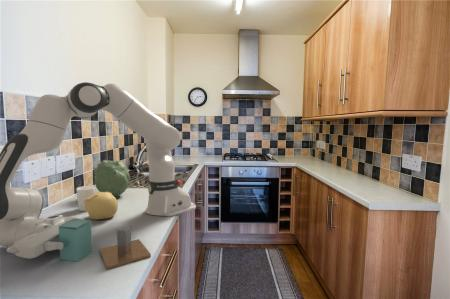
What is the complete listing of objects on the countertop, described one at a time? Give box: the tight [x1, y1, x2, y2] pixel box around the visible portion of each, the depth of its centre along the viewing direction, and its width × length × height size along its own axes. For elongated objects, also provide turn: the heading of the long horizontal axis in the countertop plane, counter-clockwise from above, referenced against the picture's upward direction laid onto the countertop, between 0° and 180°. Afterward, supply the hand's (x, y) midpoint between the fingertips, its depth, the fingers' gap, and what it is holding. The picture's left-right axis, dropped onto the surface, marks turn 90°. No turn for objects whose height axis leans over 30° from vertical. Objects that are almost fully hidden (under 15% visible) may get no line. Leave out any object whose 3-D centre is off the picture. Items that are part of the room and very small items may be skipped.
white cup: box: [76, 185, 97, 212], centre depth 116 cm, size 8×8×10 cm
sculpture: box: [84, 191, 119, 220], centre depth 106 cm, size 11×12×11 cm
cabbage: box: [92, 159, 131, 198], centre depth 136 cm, size 16×19×20 cm
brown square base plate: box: [99, 226, 152, 270], centre depth 76 cm, size 17×17×8 cm
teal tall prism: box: [59, 219, 93, 263], centre depth 75 cm, size 6×6×10 cm
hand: (76, 237), depth 75 cm, fingers open, 8 cm apart
